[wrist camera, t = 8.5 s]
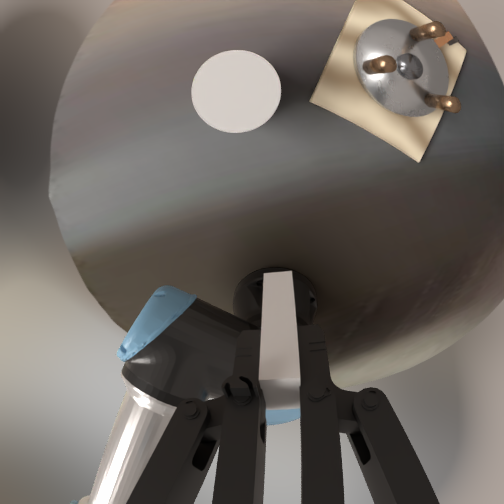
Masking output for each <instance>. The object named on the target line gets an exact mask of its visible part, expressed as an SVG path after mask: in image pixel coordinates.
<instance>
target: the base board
mask: <svg viewBox="0 0 504 504" xmlns="http://www.w3.org/2000/svg"><path fill="white" fill-rule="evenodd" d="M385 19H399V20H403V21H407V22H409V23H412V24H414V25H416V26H417V27H418V26H421V25H424V24H427V23H431V22H432V21H431V20H430V19H428V18H427V17H426V16H424V15H423V14H422V13H420V12H419V11H417V10H416V9H414V8H413V7H412V6H410V5H409V4H407V3H405V2H404V1H402V0H356V1H355V3H354V5H353V7H352V9H351V11H350V13H349V16H348V18H347V20H346V22H345V24H344V26H343V29H342V31H341V33H340V35H339V37H338V39H337V42H336V44H335V46H334V48H333V50H332V52H331V55H330V57H329V59H328V61H327V63H326V66H325V68H324V70H323V72H322V74H321V77H320V79H319V81H318V83H317V85H316V88H315V90H314V92H313V94H312V97H311V99H310V101H309V102H311V103H314V104H316V105H318V106H320V107H322V108H324V109H327V110H329V111H331V112H333V113H335V114H337V115H339V116H341V117H343V118H345V119H347V120H348V121H350V122H352V123H354V124H356V125H358V126H360V127H362V128H363V129H365V130H367V131H369V132H370V133H372V134H374V135H376V136H377V137H379V138H381V139H382V140H384V141H386V142H387V143H389V144H391V145H392V146H394V147H395V148H397V149H398V150H400V151H402V152H403V153H405V154H406V155H408V156H409V157H411V158H412V159H414V160H415V161H417V162H420V160H421V158H422V156H423V154H424V152H425V150H426V148H427V146H428V144H429V142H430V140H431V138H432V136H433V134H434V131H435V129H436V127H437V125H438V123H439V121H440V118H441V116H442V114H443V112H444V110H440V109H436V110H435V111H433V112H432V113H430V114H427V115H424V116H420V117H408V116H403V115H399V114H396V113H393V112H390V111H388V110H386V109H384V108H383V107H381V106H380V105H378V104H377V103H376V102H375V101H374V100H373V99H371V97H370V96H369V95H368V94H367V93H366V91H365V90H364V89H363V87H362V85H361V84H360V82H359V80H358V77H357V75H356V72H355V68H354V63H353V51H354V46H355V43H356V40H357V38H358V37H359V35H360V34H361V33H362V31H363V30H365V29H366V28H367V27H368V26H370V25H372V24H374V23H375V22H378V21H381V20H385ZM437 38H438V37H437ZM432 39H433V40H435V39H436V38H432ZM458 42H459V40H458V39H457V37H456V36H455V37H453V39H452V40H450V41H449V42H447V43H446V44H444V45H443V46H442V47H440V50H441V52H442V54H443V56H444V58H445V61H446V64H447V68H448V74H449V84H448V90H447V94H446V96H450V95H451V92H452V90H453V87H454V85H455V82H456V80H457V77H458V74H459V72H460V69H461V66H462V63H463V60H464V57H465V54H466V51H467V50H465V49H464V48H463V47H462V46H461V45H460V44H459V43H458Z"/></svg>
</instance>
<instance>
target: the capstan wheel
mask: <svg viewBox="0 0 504 504" xmlns="http://www.w3.org/2000/svg"><path fill="white" fill-rule="evenodd" d="M437 37H438V38H437ZM432 38H436V39H435V40H433V39H432ZM452 39H453V37H452V36H451V34H450V33H449V31H448V32H446V30H445V27H444V26H443V25H442V24H441V23H440V22H438V21H434V22H431V23H427V24H424V25H421V26H418V27H417V26H416V25H414V24H412V23H409V22H407V21H403V20H399V19H385V20H381V21H378V22H375V23H374V24H372V25H370V26H368V27H367V28H366V29H365V30H363V31H362V33H361V34H360V35H359V37H358V38H357V40H356V43H355V46H354V51H353V63H354V68H355V72H356V75H357V77H358V80H359V82H360V84H361V85H362V87H363V89H364V90H365V91H366V93H367V94H368V95H369V96H370V97H371V99H373V100H374V101H375V102H376V103H377V104H378V105H380V106H381V107H383V108H384V109H386V110H388V111H390V112H393V113H396V114H399V115H403V116H408V117H420V116H424V115H427V114H430V113H432V112H433V111H435V110H436V109H440V110H444V111H449V112H453V113H458V112H459V111H460V110H461V103H460V101H459V99H458V98H456V97H453V96H446V94H447V90H448V84H449V74H448V68H447V64H446V61H445V58H444V56H443V54H442V52H441V50H440V47H442V46H443V45H444V44H446V43H447V42H449V41H450V40H452Z"/></svg>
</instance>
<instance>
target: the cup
mask: <svg viewBox="0 0 504 504" xmlns="http://www.w3.org/2000/svg"><path fill="white" fill-rule="evenodd" d="M280 97H281V84H280V80H279V77H278V75H277V73H276V71H275V69H274V68H273V67H272V65H271V64H270V63H269V62H268V61H267V60H265V59H264V58H263V57H261V56H259V55H257V54H255V53H252V52H249V51H243V50H231V51H226V52H222V53H219V54H217V55H215V56H213V57H212V58H210V59H209V60H207V61H206V62H205V63H204V64H203V65H202V66H201V67H200V69H199V70H198V72H197V73H196V75H195V77H194V80H193V84H192V101H193V104H194V107H195V109H196V111H197V113H198V114H199V116H200V117H201V118H202V119H203V120H204V121H205V122H206V123H207V124H209V125H210V126H212V127H214V128H216V129H218V130H221V131H225V132H231V133H240V132H246V131H250V130H253V129H255V128H257V127H259V126H261V125H262V124H264V123H265V122H266V121H267V120H269V119H270V117H271V116H272V115H273V114H274V112H275V111H276V109H277V107H278V104H279V101H280Z"/></svg>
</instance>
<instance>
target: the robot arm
mask: <svg viewBox="0 0 504 504" xmlns="http://www.w3.org/2000/svg"><path fill="white" fill-rule="evenodd" d="M233 311H234V314H235V315H232V314H230V313H228V312H226V311H224V310H222V309H220V308H217V307H215V306H213V305H211V304H209V303H207V302H205V301H203V300H201V299H199V298H197V295H195V294H193V295H191V294H189V293H186V292H184V291H182V290H180V289H177V288H175V287H173V286H169V285H166V286H162V287H160V288H158V289H157V290H156V291H155V292H154V294H153V295H152V296H151V298H150V299H149V301H148V302H147V303H146V305H145V306H144V308H143V309H142V311H141V313H140V314H139V316H138V317H137V319H136V320H135V322H134V324H133V325H132V327H131V328H130V330H129V332H128V333H127V335H126V337H125V339H124V340H123V343H122V344H121V346H120V348H119V349H118V352H117V356H118V357H119V358H120V360H121V361H123V362H125V364H124V367H123V369H122V372H121V376H122V378H123V381H124V383H125V385H126V387H127V391H126V394H125V396H124V398H123V401H122V404H121V406H120V409H119V412H118V414H117V417H116V420H115V422H114V425H113V428H112V431H111V433H110V436H109V439H108V442H107V445H106V448H105V451H104V454H103V457H102V460H101V463H100V466H99V469H98V472H97V475H96V479H95V482H94V485H93V489H92V492H91V495H88V496H85V497H83V498H82V499H81V500H80V501H76V500H73V501H71V502H70V504H194V501H195V499H196V497H197V495H198V493H199V491H200V488H201V486H202V484H203V482H204V479H205V477H206V475H207V472H208V470H209V468H210V466H211V463H212V461H213V459H214V456H215V454H216V452H217V449H218V447H219V454H218V461H217V469H216V477H215V485H214V492H213V500H212V504H263V494H264V474H265V452H266V428H267V427H266V426H267V425H276V424H282V423H287V422H290V421H294V420H296V419H299V418H300V421H301V422H300V423H301V424H300V426H301V504H344V486H343V472H342V471H343V470H342V458H341V445H340V435H339V432H340V433H346V434H347V437H348V439H349V441H350V444H351V446H352V449H353V451H354V453H355V456H356V458H357V461H358V463H359V466H360V468H361V470H362V473H363V475H364V478H365V481H366V483H367V486H368V488H369V491H370V493H371V496H372V498H373V501H374V503H375V504H439V502H438V499H437V497H436V495H435V493H434V491H433V488H432V486H431V484H430V482H429V480H428V478H427V475H426V473H425V471H424V469H423V467H422V465H421V463H420V461H419V459H418V457H417V455H416V453H415V451H414V449H413V447H412V445H411V443H410V441H409V439H408V437H407V435H406V433H405V431H404V429H403V427H402V425H401V423H400V421H399V419H398V417H397V416H396V414H395V412H394V410H393V408H392V406H391V404H390V403H389V401H388V399H387V397H386V395H385V394H384V393H383V392H382V391H381V390H379V389H377V388H371V387H370V388H365V389H363V390H361V391H360V392H352V391H346V390H342V389H340V388H338V387H337V386H336V385H335V384H334V383H333V382H332V380H331V376H330V370H329V363H328V356H327V351H326V343H325V337H324V332H323V331H322V329H321V328H320V326H319V325H318V324H316V325H312V324H313V321H314V318H315V314H316V311H317V298H316V292H315V289H314V287H313V285H312V283H311V282H310V281H309V280H308V279H307V278H306V277H305V276H303V275H302V274H300V273H298V272H296V271H293V270H290V269H285V268H266V269H261V270H258V271H255V272H253V273H251V274H249V275H248V276H246V277H245V278H244V279H243V280H242V281H241V282H240V283H239V284H238V286H237V288H236V290H235V294H234V299H233ZM209 398H214V399H212V400H208V399H209Z"/></svg>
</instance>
